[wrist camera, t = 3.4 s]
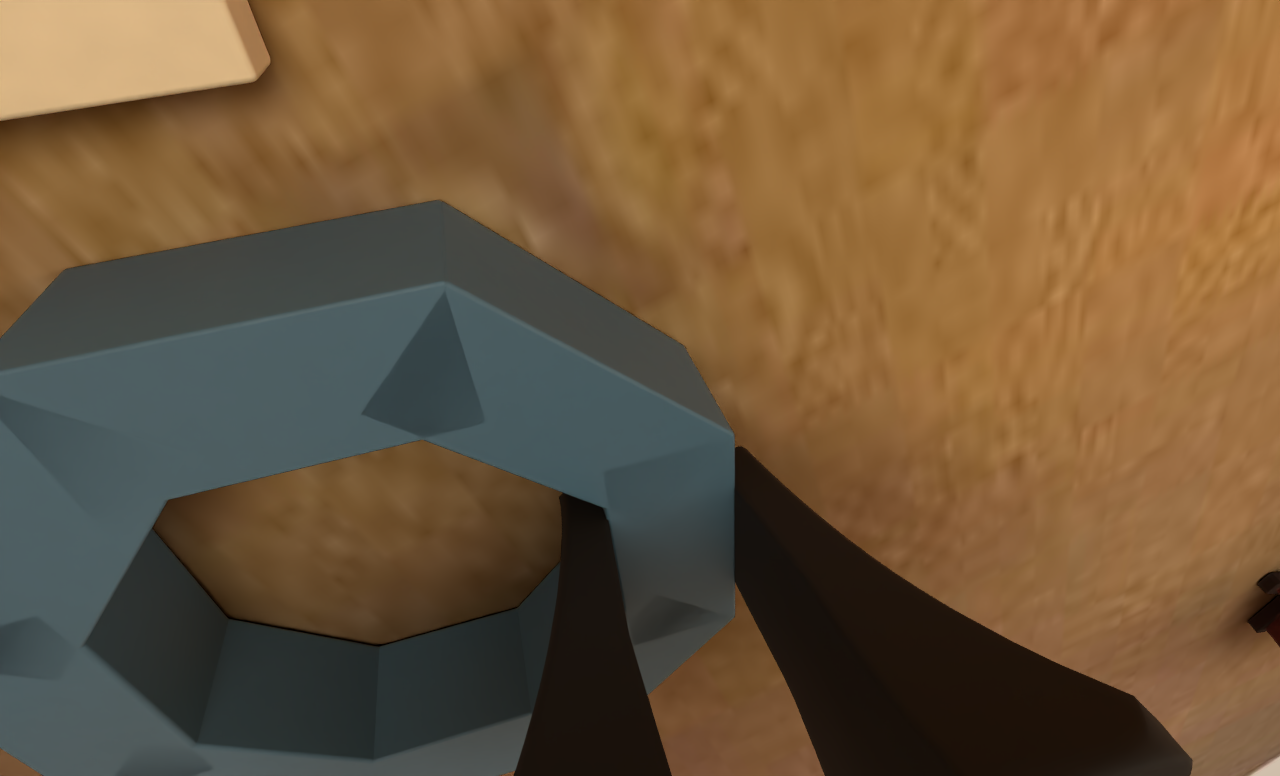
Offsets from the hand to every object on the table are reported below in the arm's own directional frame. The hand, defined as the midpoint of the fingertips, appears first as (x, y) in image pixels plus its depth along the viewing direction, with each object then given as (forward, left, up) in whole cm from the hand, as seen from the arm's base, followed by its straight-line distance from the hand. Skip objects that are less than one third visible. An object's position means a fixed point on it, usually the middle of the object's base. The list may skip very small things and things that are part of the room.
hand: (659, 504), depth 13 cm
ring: (-5, 0, -1) cm, 5 cm away
